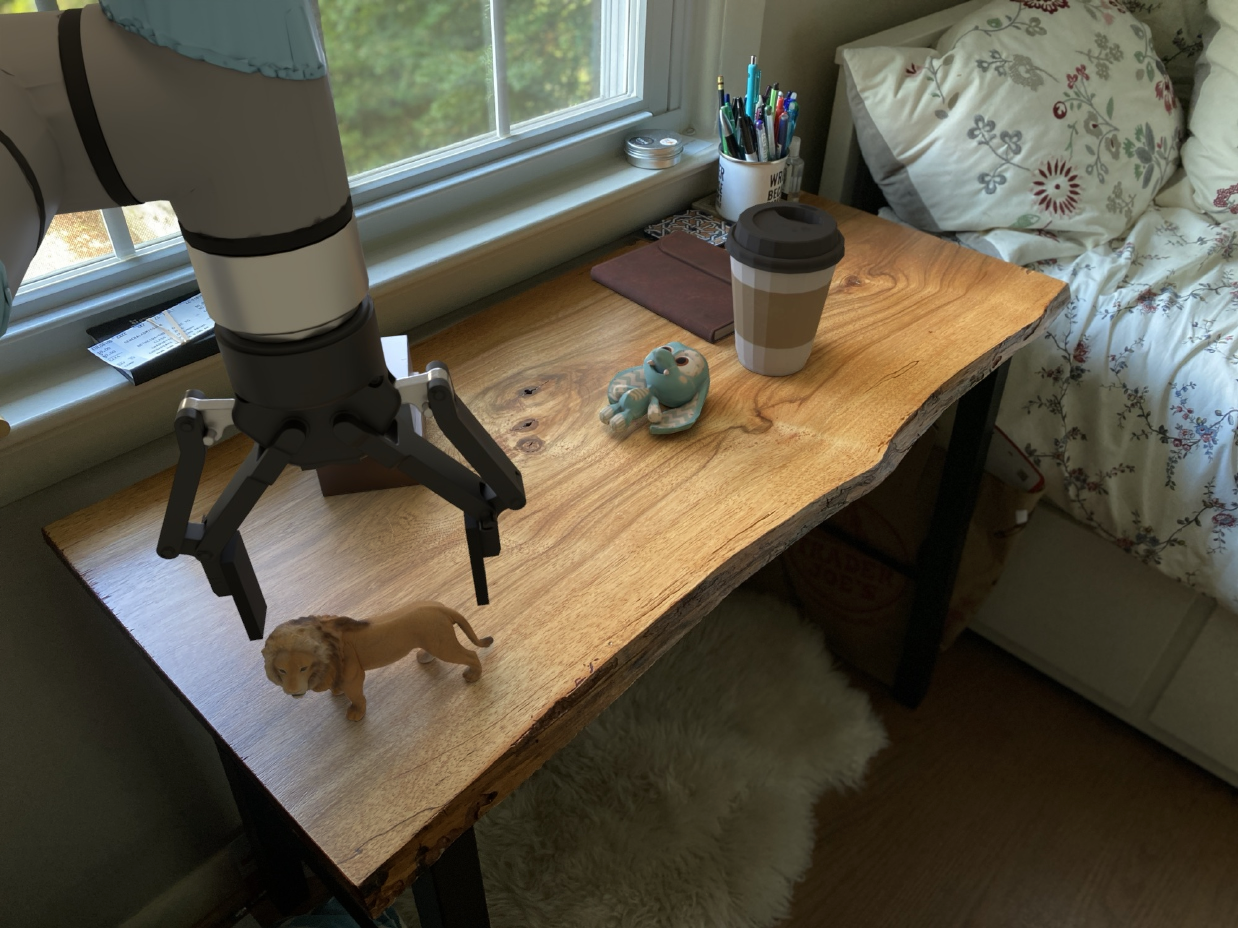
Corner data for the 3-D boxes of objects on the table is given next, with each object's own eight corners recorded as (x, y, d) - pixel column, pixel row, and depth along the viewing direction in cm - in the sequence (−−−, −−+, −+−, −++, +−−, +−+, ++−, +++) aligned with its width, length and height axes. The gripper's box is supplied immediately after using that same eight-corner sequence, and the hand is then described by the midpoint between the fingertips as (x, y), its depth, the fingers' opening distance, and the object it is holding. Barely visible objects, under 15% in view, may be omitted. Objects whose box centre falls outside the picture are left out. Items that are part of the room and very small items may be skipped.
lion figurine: (300, 764, 59) (266, 674, 53) (277, 705, 63) (243, 614, 57) (509, 668, 65) (498, 577, 59) (477, 618, 68) (464, 529, 63)
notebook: (710, 345, 98) (712, 328, 97) (590, 280, 110) (590, 264, 109) (802, 298, 106) (805, 283, 105) (681, 242, 118) (681, 227, 116)
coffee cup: (847, 353, 97) (871, 217, 88) (790, 402, 90) (809, 259, 81) (755, 319, 103) (768, 187, 93) (694, 362, 96) (702, 224, 86)
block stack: (322, 496, 79) (301, 415, 74) (328, 422, 88) (309, 344, 82) (429, 483, 81) (415, 402, 75) (425, 411, 89) (412, 334, 84)
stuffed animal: (562, 364, 85) (659, 302, 90) (576, 421, 90) (667, 359, 95) (638, 417, 79) (738, 346, 83) (649, 474, 84) (743, 405, 88)
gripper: (540, 245, 49) (561, 537, 63) (36, 295, 46) (172, 593, 59) (560, 313, 44) (579, 619, 57) (-13, 377, 40) (149, 687, 53)
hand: (372, 607), depth 58 cm, fingers open, 13 cm apart
